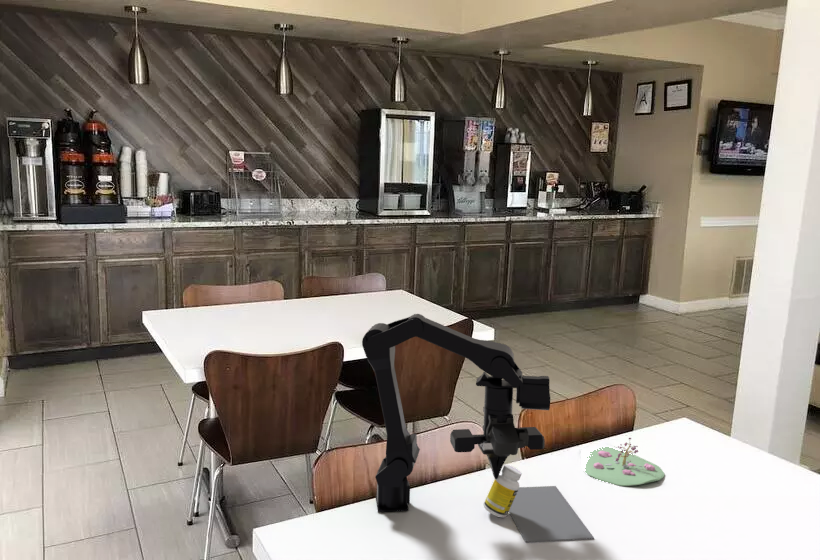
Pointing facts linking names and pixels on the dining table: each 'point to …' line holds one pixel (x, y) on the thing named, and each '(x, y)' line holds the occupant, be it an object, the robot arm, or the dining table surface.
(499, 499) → the supplement bottle
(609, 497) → the dining table surface
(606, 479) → the plant
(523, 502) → the mat
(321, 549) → the dining table surface
